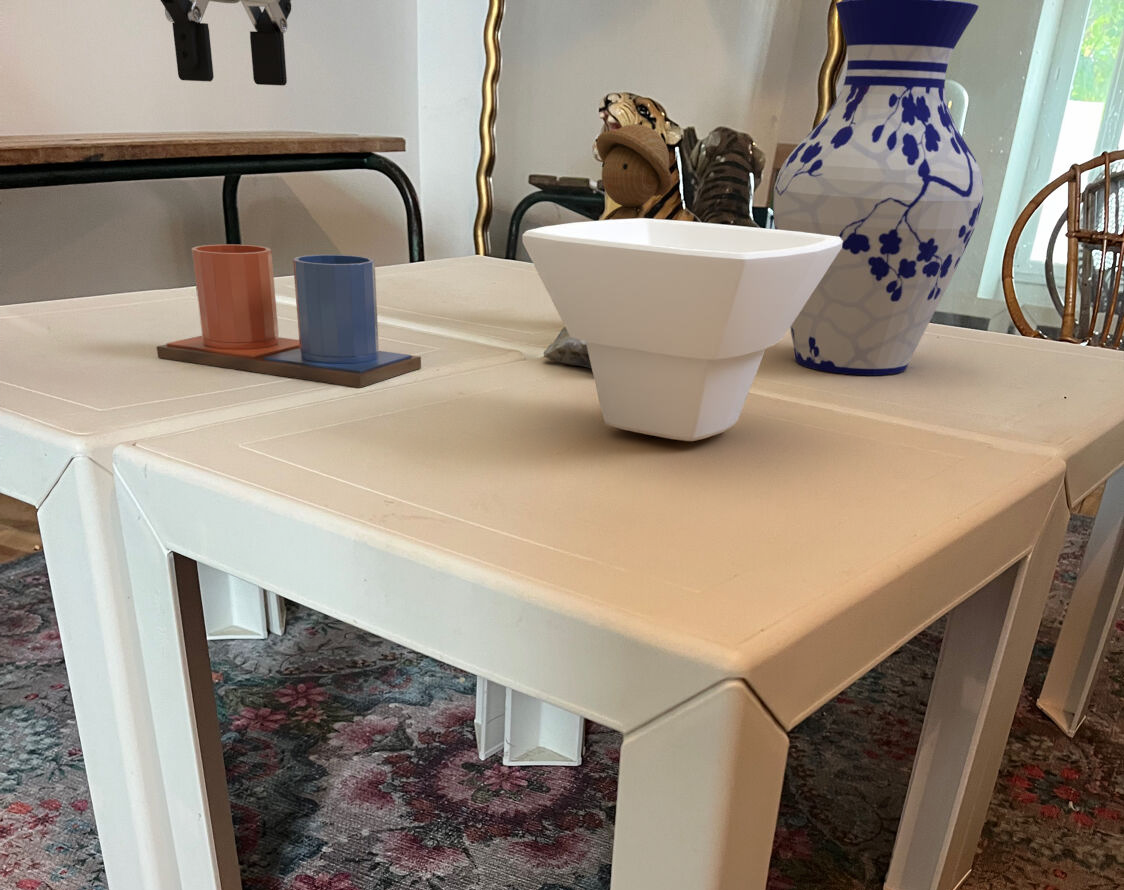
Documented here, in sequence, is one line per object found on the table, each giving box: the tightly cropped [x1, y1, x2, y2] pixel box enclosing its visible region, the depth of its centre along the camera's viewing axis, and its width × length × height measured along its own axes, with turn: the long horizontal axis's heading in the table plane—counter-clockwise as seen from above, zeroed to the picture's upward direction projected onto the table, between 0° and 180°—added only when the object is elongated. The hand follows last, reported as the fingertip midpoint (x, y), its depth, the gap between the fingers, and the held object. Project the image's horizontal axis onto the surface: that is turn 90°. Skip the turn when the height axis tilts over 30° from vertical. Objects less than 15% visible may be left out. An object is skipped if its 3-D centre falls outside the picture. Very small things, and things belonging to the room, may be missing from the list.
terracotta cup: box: [191, 244, 280, 349], centre depth 102 cm, size 7×7×8 cm
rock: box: [543, 325, 592, 369], centre depth 105 cm, size 11×6×10 cm
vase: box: [772, 0, 984, 376], centre depth 104 cm, size 19×19×30 cm
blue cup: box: [292, 254, 380, 364], centre depth 98 cm, size 7×7×8 cm
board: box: [156, 335, 422, 389], centre depth 103 cm, size 22×10×1 cm, turn 65°
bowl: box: [522, 217, 843, 442], centre depth 82 cm, size 19×19×14 cm
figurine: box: [595, 123, 673, 220], centre depth 119 cm, size 9×7×20 cm
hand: (234, 82), depth 96 cm, fingers open, 9 cm apart
